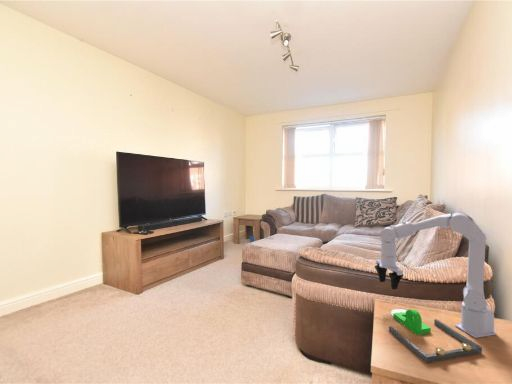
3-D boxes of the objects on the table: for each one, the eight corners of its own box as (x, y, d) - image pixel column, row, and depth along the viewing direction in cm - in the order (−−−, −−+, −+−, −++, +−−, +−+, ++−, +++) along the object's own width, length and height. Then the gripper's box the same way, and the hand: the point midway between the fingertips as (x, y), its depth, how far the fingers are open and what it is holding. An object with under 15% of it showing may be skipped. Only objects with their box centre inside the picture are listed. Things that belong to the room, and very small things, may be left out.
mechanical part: (430, 333, 96) (430, 312, 95) (416, 335, 94) (417, 314, 94) (405, 316, 107) (406, 297, 107) (393, 318, 106) (393, 299, 106)
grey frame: (436, 324, 101) (436, 316, 100) (484, 354, 83) (484, 345, 83) (388, 331, 97) (388, 323, 97) (428, 365, 80) (428, 355, 79)
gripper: (369, 250, 118) (369, 279, 119) (392, 260, 104) (391, 293, 105) (383, 249, 120) (383, 278, 121) (407, 259, 105) (406, 291, 106)
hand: (388, 285), depth 113 cm, fingers open, 7 cm apart
